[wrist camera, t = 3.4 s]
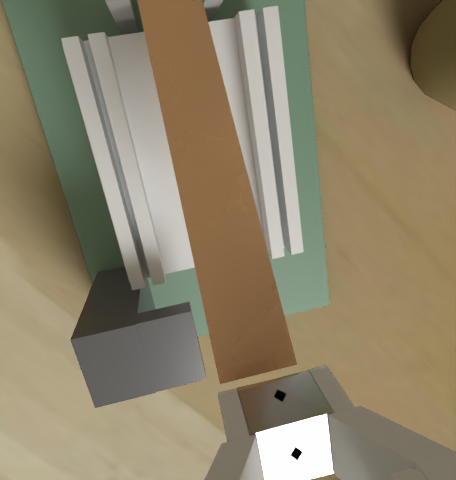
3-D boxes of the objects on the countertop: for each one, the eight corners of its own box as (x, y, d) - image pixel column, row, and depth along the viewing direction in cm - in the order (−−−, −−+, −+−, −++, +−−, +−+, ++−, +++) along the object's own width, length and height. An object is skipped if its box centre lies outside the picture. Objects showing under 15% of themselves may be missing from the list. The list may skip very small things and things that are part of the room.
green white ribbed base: (-20, -85, 19) (-128, -204, 12) (287, -120, 20) (354, -244, 13) (117, 348, 28) (102, 429, 21) (324, 298, 29) (376, 358, 22)
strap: (135, -10, 17) (128, -40, 16) (191, -18, 17) (190, -48, 16) (218, 378, 13) (220, 384, 12) (288, 361, 14) (297, 364, 12)
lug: (97, 272, 25) (70, 339, 17) (182, 254, 25) (191, 311, 18) (113, 325, 26) (95, 408, 19) (193, 306, 26) (206, 379, 19)
